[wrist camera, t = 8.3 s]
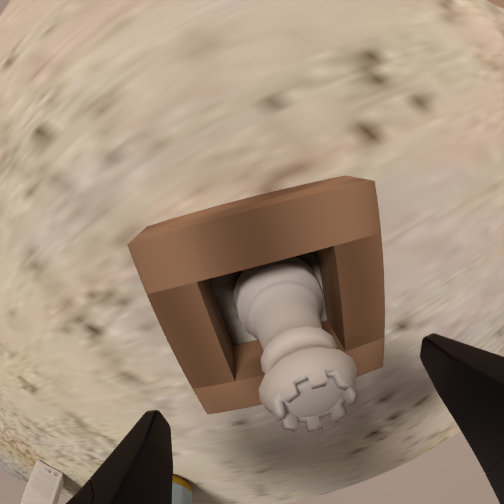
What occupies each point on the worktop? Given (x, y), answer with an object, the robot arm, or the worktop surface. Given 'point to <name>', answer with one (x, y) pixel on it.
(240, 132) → the worktop surface
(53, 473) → the skincare box
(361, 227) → the socket
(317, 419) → the rook chess piece
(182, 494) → the bottle
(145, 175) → the worktop surface
